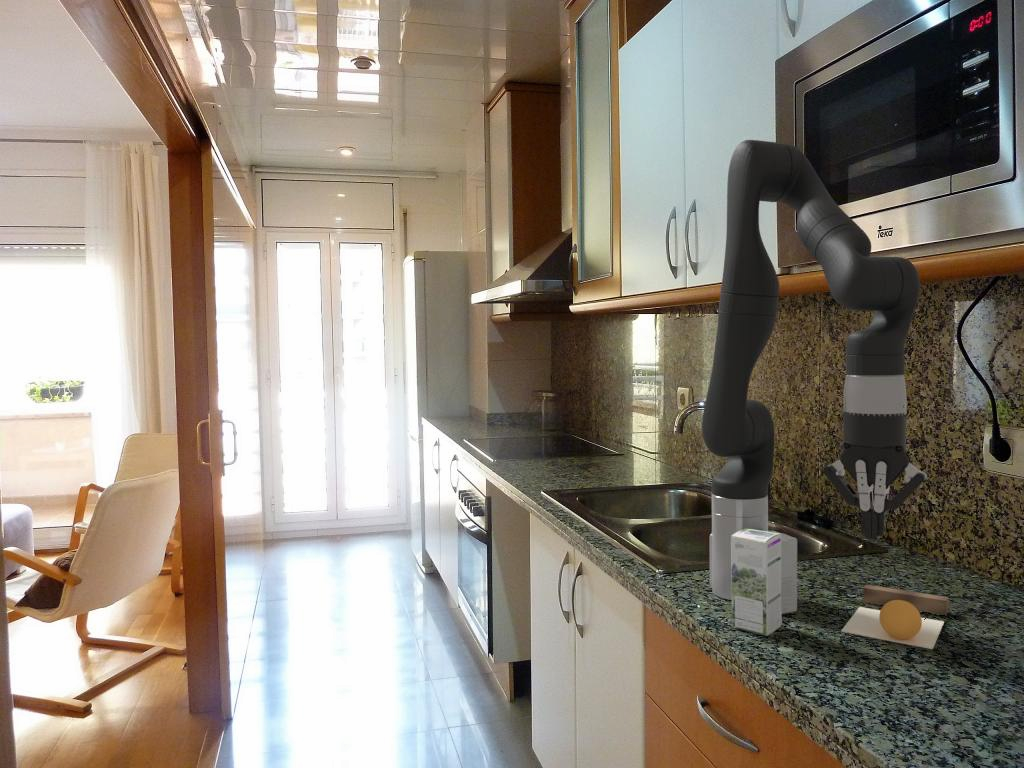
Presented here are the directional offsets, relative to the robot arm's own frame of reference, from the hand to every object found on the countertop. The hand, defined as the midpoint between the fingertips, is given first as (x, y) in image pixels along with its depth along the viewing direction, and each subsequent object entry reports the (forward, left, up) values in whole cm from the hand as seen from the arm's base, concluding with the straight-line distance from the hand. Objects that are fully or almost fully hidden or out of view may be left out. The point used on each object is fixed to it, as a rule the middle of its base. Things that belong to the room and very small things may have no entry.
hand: (873, 538), depth 103 cm
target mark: (-9, +12, -17) cm, 23 cm away
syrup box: (-16, -6, -17) cm, 25 cm away
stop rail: (-14, +20, -17) cm, 30 cm away
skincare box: (-22, +2, -17) cm, 28 cm away
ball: (-5, +10, -14) cm, 18 cm away
